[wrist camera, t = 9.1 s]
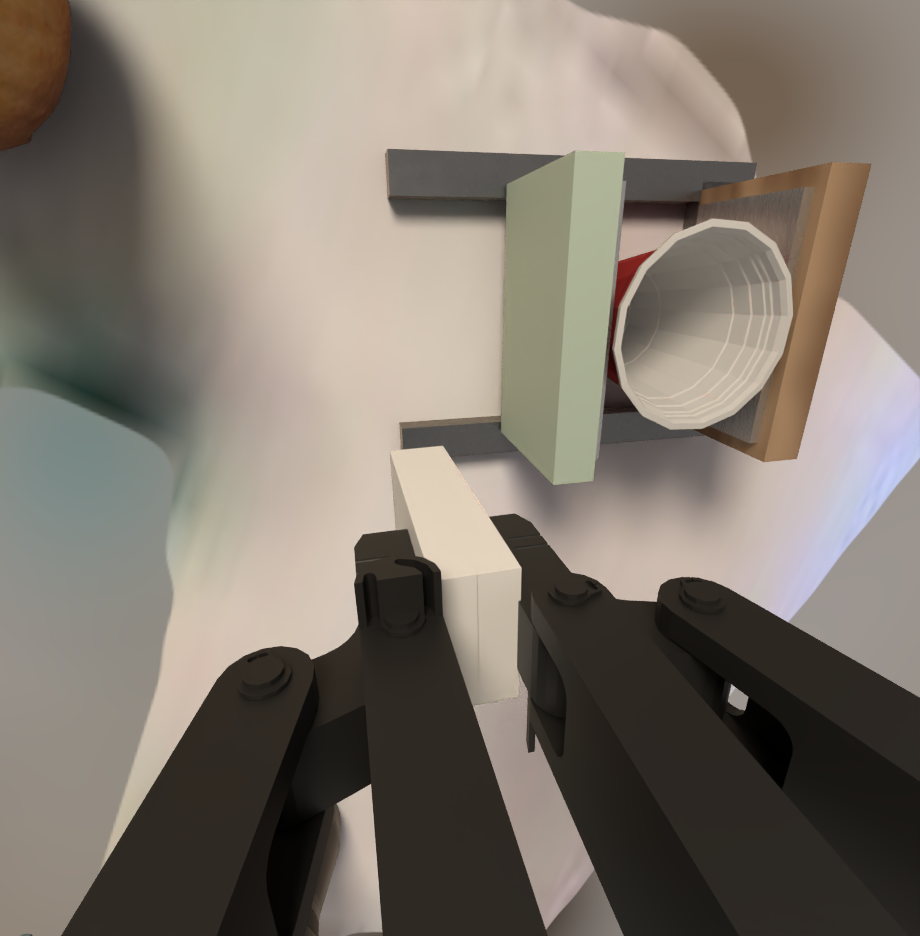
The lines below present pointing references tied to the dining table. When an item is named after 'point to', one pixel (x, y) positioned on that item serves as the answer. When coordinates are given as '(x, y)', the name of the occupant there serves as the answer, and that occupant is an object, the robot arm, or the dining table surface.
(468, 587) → the robot arm
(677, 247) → the plastic cup
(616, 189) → the block
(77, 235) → the dining table surface
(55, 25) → the butternut squash
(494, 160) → the vise bed
